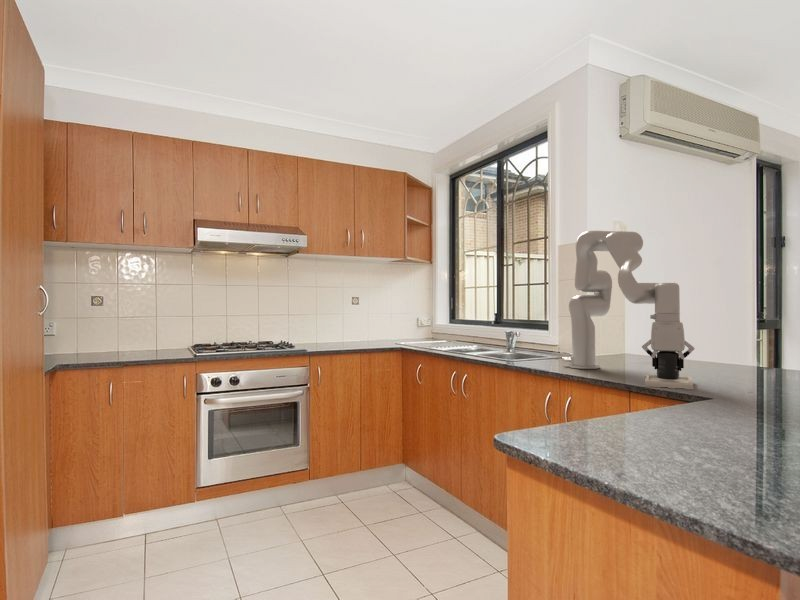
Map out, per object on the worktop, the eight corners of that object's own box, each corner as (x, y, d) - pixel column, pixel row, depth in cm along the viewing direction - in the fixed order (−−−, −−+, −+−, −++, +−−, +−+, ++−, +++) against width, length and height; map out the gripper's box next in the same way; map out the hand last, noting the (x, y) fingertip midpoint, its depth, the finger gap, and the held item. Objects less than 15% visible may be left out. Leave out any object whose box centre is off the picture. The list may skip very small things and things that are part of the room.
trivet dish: (645, 386, 162) (645, 380, 162) (646, 380, 174) (646, 374, 174) (693, 389, 155) (693, 383, 155) (691, 382, 167) (691, 377, 167)
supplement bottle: (682, 380, 160) (682, 345, 160) (660, 380, 162) (660, 345, 162) (675, 377, 167) (674, 343, 167) (654, 376, 168) (653, 343, 168)
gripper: (638, 318, 165) (639, 369, 165) (697, 319, 157) (697, 372, 157) (639, 317, 172) (640, 366, 172) (696, 318, 163) (696, 369, 163)
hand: (667, 369), depth 164 cm, fingers closed on supplement bottle, 6 cm apart
